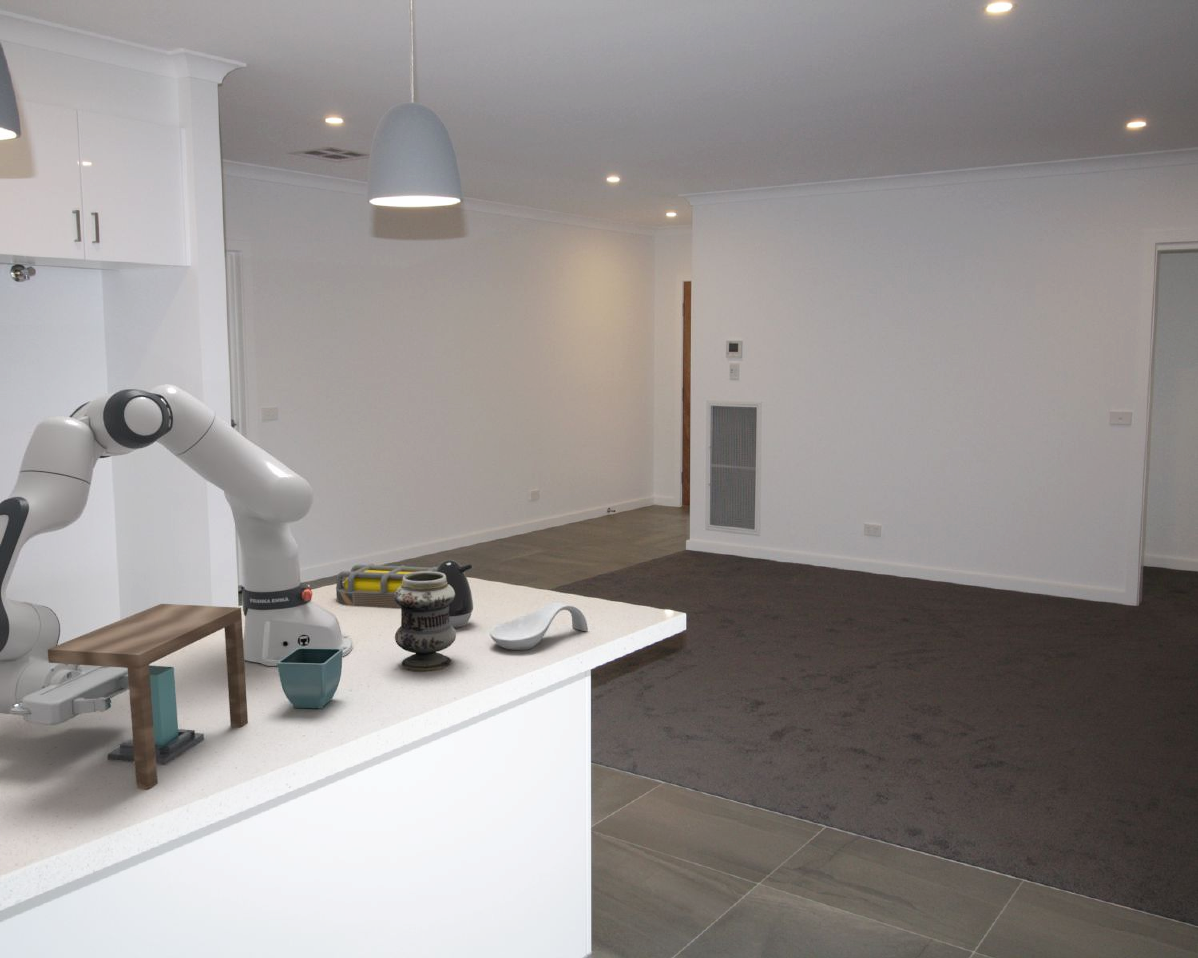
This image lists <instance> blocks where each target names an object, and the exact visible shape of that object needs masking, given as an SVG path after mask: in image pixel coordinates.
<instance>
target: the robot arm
mask: <svg viewBox="0 0 1198 958" xmlns="http://www.w3.org/2000/svg"><path fill="white" fill-rule="evenodd" d="M156 442H157V443H159V444H160V445H162V446H163V447H164V448H165V449H166V450H167V451H169V452H170V453H171V454H173V455H174V456H175V457H176V458H177V459H179V460H180V461H181V462H183V463H184V464H185V465H187V466H188V467H189V468H190V469H192V470H193V471H194V472H195V473H196V474H198V476H200V477H202V479H204V480H205V481H207V482H209V483H210V484H212V485H214V486H215V487H217V488H218V489H221V491H223V493H224V494H223V495H224V498H225V499H226V501H227V503H228V506H229V507H230V510H231V513H232V516H233V521H234V525H235V529H236V531H237V535H238V539H239V545H240V549H241V556H242V570H243V583H244V584H243V588H242V590H241V591H242V593H241V603H242V612H243V615H244V629H243V648H244V661H247V662H251V663H259V664H262V665H265V666H267V667H273V666H274V667H276V666H277V662H278V661H280V660H281V659H283V658H284V657H286V656H287V655H288V654H290V653H291V652H292V651H294V650H295V649H297V648H333V649H334V648H335V649H343V654H342V657H344V656H347V655H348V654H349V653H351V651H352V649H353V646H354V645H353V640H352V637H350V636H349V635H346V634H344V633H342V630H341V629H342V628H341V626H340V622H339V620H338V618H337V617H336V615H335V614H333V613H332V612H330V611H329V610H327V609H326V608H324V607H322V606H321V605H319V604H317V603H316V602H315V601H313V600H312V599H313V598H312V597H313V591H312V588H311V586H310V584H305V583H303V582H301V565H300V550H299V546H298V542H297V541H296V539H295V538H294V535H293V533H292V530H291V528H290V527H291V526H290V524H289V523H294V522H298V521H300V520H302V519H303V518H305V517H306V516H307V514H308V513H309V512H310V511H311V508H312V506H313V502H314V491H313V489H312V487H311V484H310V483H309V481H307V480H306V479H305V478H304V477H302V476H301V475H299V474H298V473H297V472H295V471H294V470H292V469H291V468H289V466H287V465H285V464H284V463H283V462H281V461H280V460H278V459H277V458H276V457H274V456H273V455H272V454H270V453H268V452H267V451H265V450H264V449H263V448H262V447H259V445H257V444H255V443H253V442H252V441H250V440H249V439H248V438H246V437H245V436H244V435H242V434H241V433H240V432H239V431H238V430H237V429H235V428H234V427H233V426H231V425H230V424H229V423H228V422H227V421H225V420H224V419H223V418H222V417H221V416H219V414H217V413H216V411H214V410H213V409H212V408H210V407H209V406H207V405H206V404H205V403H204V402H203V401H201V400H200V399H198V398H196V397H195V396H194V395H192V394H190V393H189V392H188V391H185V390H184V389H182V388H180V387H179V386H177V385H175V384H169V383H166V384H160V385H158V386H155V387H153V388H151V389H150V390H149V391H145V390H142V389H136V388H128V389H127V388H126V389H121V390H119V391H114V392H109V393H106V394H103V395H100V396H98V397H96V399H93V400H91V401H87V402H85V403H83V404H81V405H80V406H79V407H77V408H76V409H75V410H74V411H72V413H71V415H69V416H62V415H56V416H51V417H48V418H45V419H43V420H41V421H40V422H38V424H37V425H36V427H35V429H34V431H33V432H32V435H30V439H29V441H28V444H27V446H26V448H25V452H24V455H23V458H22V461H21V464H20V468H19V470H18V471H19V472H18V475H17V480H16V482H15V484H14V487H13V489H12V490H11V492H10V494H9V496H8V497H7V499H4V500H2V501H1V502H0V714H5V715H12V716H21V717H22V719H23V720H24V721H26V722H28V723H33V724H39V725H46V726H54V725H55V726H56V725H60V724H63V723H65V722H67V721H69V720H71V719H73V718H75V717H77V716H78V715H83V714H89V713H94V712H98V713H104V712H106V711H107V710H110V709H111V708H112V704H111V703H112V700H111V699H113V698H114V697H117V696H119V695H120V694H122V693H124V692H127V691H128V690H129V681H128V668H121V667H106V666H91V665H76V664H61V663H49V661H48V649H50V648H52V647H55V646H57V645H59V641H60V636H61V623H60V621H59V617H58V616H57V614H56V613H55V611H53V609H51V608H50V607H48V606H45V605H40V604H36V603H31V602H26V601H19V600H14V599H9V598H7V595H6V591H7V588H8V584H9V582H10V580H11V577H12V575H13V572H14V569H15V567H16V564H17V561H18V558H19V556H20V553H21V550H22V549H23V548H24V546H25V544H26V543H27V542H29V540H31V539H32V538H34V537H35V536H39V535H41V534H46V533H52V532H56V531H60V530H62V529H65V528H67V527H69V526H71V525H72V524H74V523H75V522H76V521H77V520H78V519H80V518H81V516H82V514H83V512H84V511H85V508H86V506H87V503H88V500H89V495H90V490H91V485H92V480H93V474H94V468H95V466H96V464H97V463H98V460H99V459H104V458H105V459H106V458H110V457H115V456H123V455H127V454H130V453H132V452H134V451H136V450H138V449H139V450H140V449H143V448H147V447H149V446H151V445H153V444H154V443H156Z"/></svg>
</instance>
